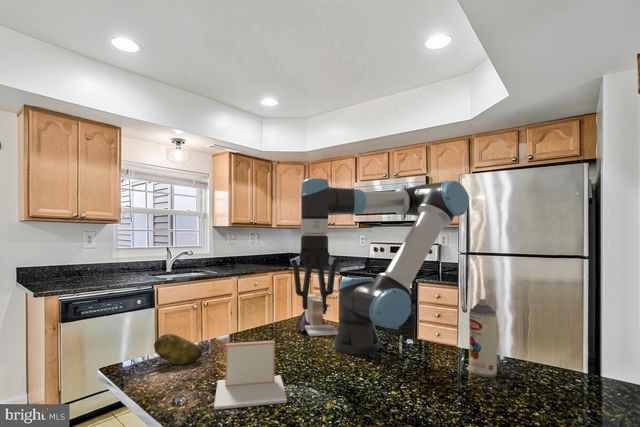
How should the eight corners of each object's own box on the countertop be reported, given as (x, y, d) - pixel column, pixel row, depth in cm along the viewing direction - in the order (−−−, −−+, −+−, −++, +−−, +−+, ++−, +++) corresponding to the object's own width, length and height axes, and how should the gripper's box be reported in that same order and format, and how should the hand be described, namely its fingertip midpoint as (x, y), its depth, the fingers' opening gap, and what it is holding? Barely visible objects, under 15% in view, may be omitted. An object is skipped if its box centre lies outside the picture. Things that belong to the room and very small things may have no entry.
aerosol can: (464, 368, 103) (464, 297, 103) (486, 366, 104) (485, 297, 105) (479, 378, 96) (478, 302, 97) (502, 376, 97) (501, 301, 98)
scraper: (297, 316, 104) (297, 294, 105) (321, 315, 106) (321, 293, 106) (309, 336, 86) (309, 308, 86) (338, 334, 87) (338, 307, 88)
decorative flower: (300, 300, 149) (331, 292, 143) (310, 325, 150) (342, 319, 144) (285, 317, 136) (319, 310, 130) (296, 345, 137) (331, 339, 131)
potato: (188, 370, 100) (189, 341, 100) (148, 365, 103) (149, 337, 103) (204, 359, 108) (205, 332, 108) (167, 355, 111) (168, 329, 111)
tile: (273, 380, 92) (274, 340, 93) (274, 382, 91) (274, 342, 91) (225, 384, 90) (226, 343, 90) (225, 386, 88) (226, 345, 88)
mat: (280, 377, 95) (280, 375, 95) (287, 402, 82) (287, 399, 82) (217, 382, 92) (217, 380, 92) (213, 409, 78) (213, 406, 78)
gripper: (288, 235, 94) (287, 326, 93) (345, 235, 97) (345, 322, 96) (284, 234, 101) (283, 318, 100) (338, 234, 105) (338, 316, 104)
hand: (314, 320), depth 98 cm, fingers closed on scraper, 3 cm apart
